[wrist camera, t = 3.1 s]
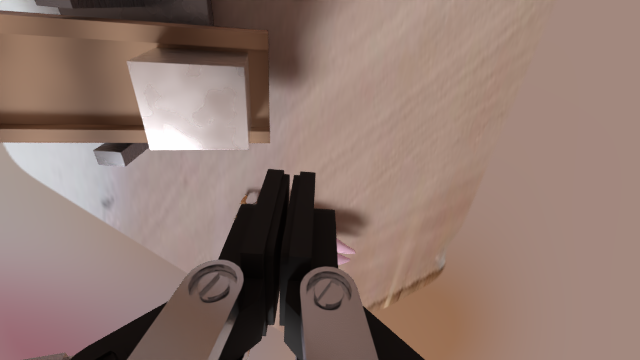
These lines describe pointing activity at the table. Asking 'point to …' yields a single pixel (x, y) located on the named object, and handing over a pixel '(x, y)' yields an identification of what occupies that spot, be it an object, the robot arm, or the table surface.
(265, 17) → the table surface
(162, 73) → the white block
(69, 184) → the table surface
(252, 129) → the balance beam
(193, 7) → the pivot stand
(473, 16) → the table surface
